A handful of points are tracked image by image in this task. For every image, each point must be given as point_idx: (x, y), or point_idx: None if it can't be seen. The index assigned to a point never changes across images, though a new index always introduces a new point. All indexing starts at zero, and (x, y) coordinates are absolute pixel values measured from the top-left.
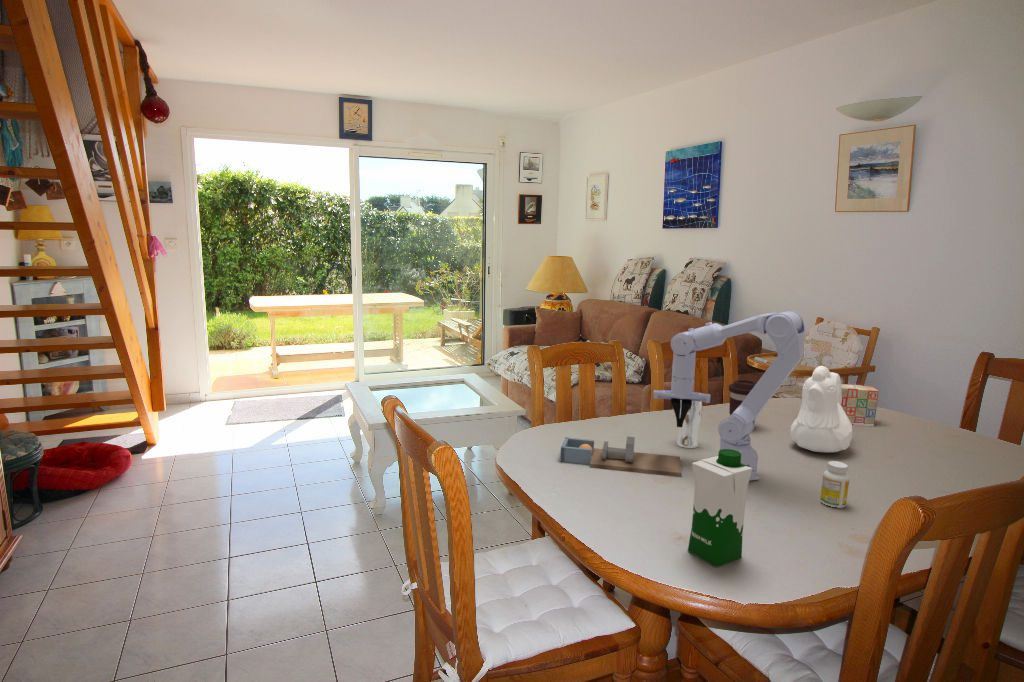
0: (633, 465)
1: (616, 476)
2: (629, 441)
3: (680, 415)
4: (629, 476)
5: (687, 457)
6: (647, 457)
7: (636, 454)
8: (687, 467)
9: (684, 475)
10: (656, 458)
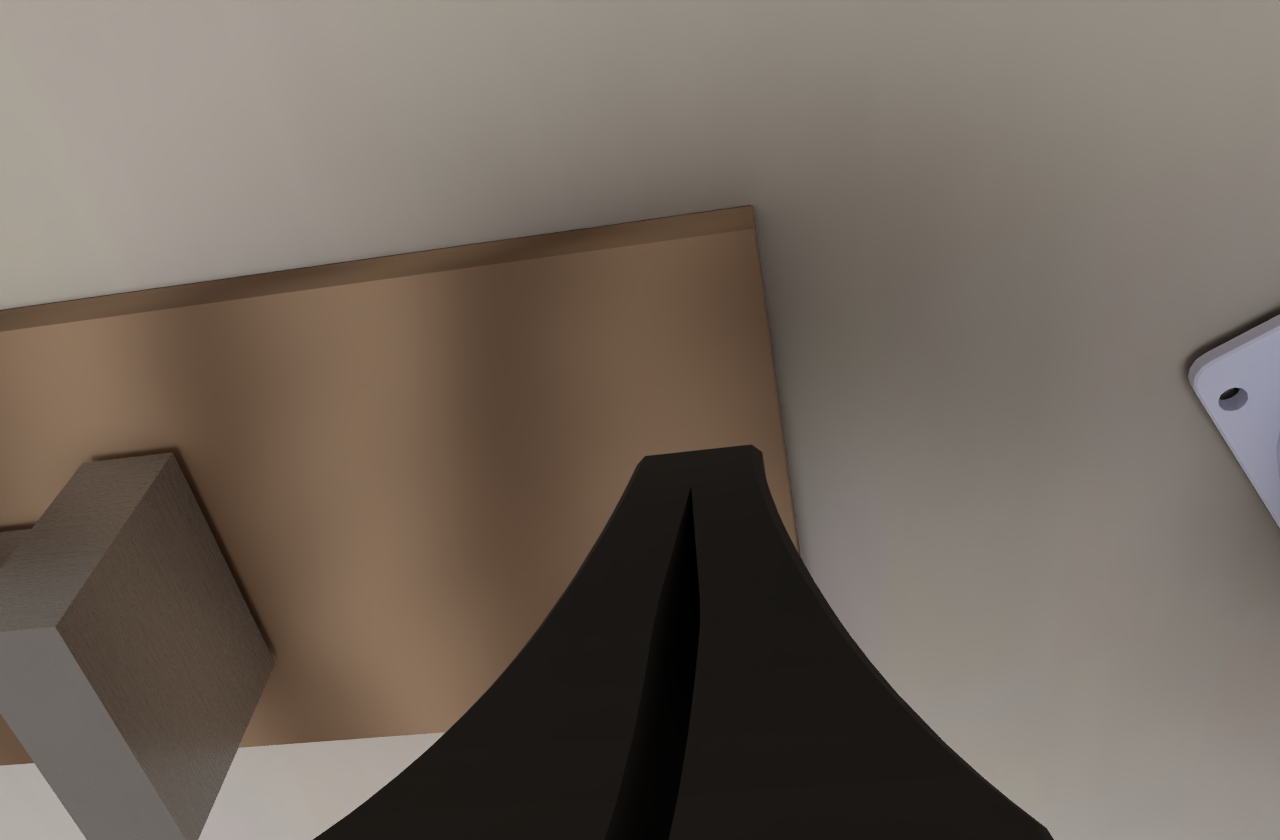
0: (304, 687)
1: (255, 824)
2: (92, 789)
3: (699, 578)
4: (353, 795)
5: (865, 30)
6: (351, 433)
7: (186, 387)
8: (875, 414)
9: (849, 630)
10: (465, 423)
